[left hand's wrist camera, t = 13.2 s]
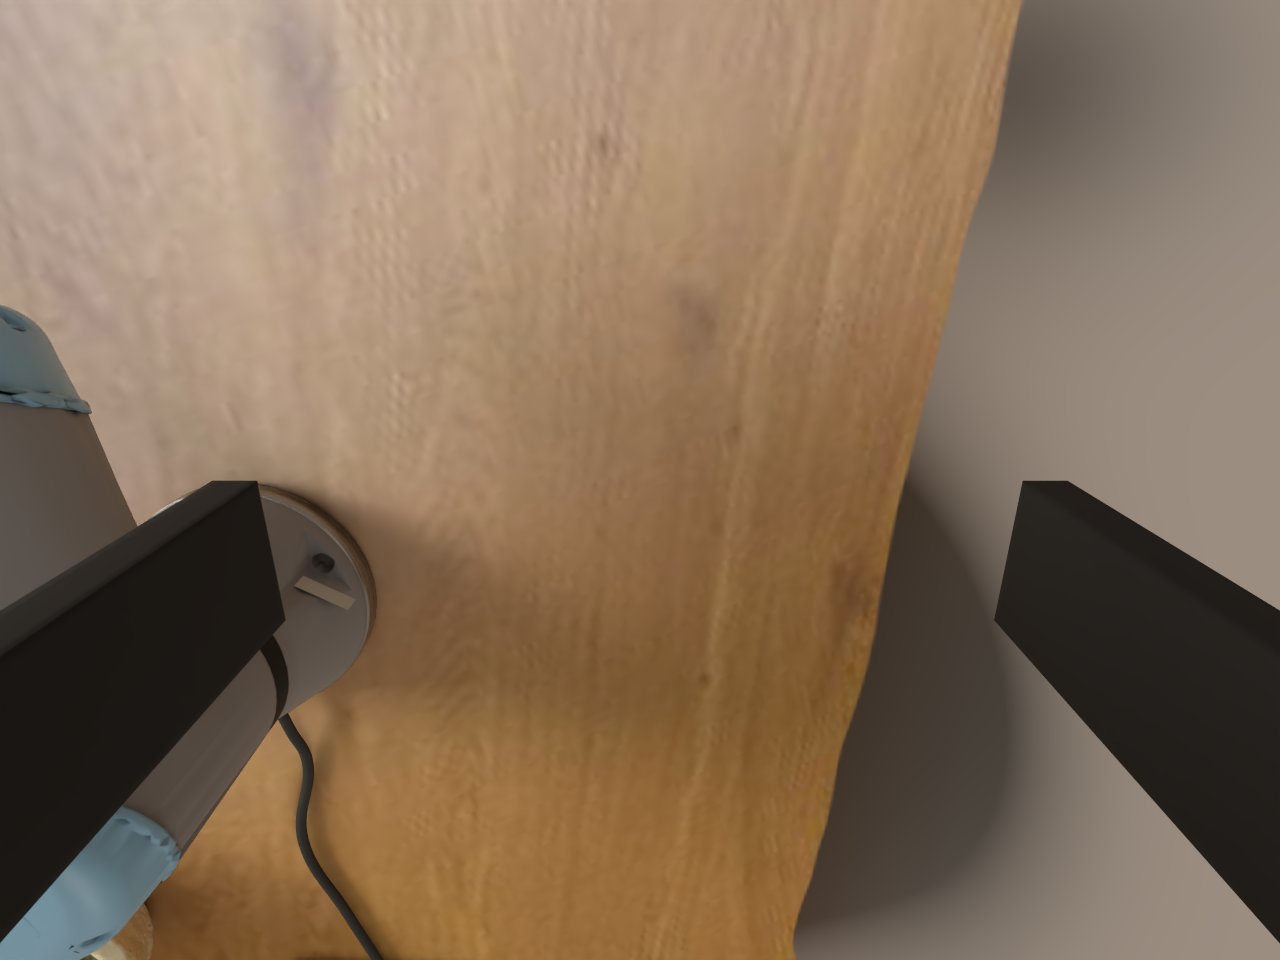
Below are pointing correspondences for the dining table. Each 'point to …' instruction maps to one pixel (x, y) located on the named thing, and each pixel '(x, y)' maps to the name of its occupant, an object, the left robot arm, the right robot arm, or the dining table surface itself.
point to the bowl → (129, 940)
